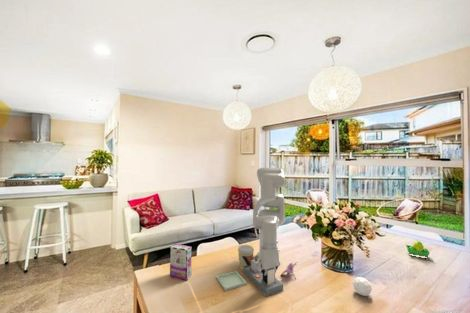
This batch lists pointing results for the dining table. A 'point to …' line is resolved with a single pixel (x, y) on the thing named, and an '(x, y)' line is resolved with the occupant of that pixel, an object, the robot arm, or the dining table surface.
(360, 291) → the geometric ball
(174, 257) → the candy bar box
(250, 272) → the power strip
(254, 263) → the grey twin plug
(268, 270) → the cream plug
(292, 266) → the lily
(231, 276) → the sage tray
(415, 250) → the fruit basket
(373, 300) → the dining table surface
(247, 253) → the coffee cup
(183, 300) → the dining table surface
